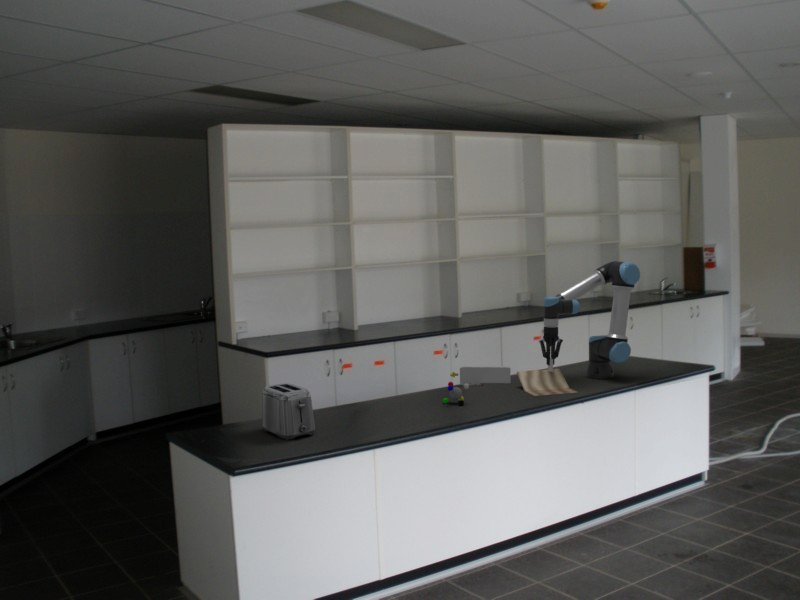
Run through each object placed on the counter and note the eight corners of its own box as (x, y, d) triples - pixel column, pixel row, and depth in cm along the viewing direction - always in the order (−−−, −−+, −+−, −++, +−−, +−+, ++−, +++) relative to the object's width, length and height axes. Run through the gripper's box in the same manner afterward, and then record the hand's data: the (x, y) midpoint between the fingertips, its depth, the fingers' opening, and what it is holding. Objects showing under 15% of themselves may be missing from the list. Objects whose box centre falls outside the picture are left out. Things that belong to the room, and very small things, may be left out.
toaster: (285, 443, 308) (283, 396, 306) (253, 428, 331) (252, 384, 330) (321, 435, 317) (320, 390, 315) (288, 421, 341) (287, 379, 339)
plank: (558, 370, 404) (559, 368, 403) (568, 389, 394) (569, 388, 393) (516, 373, 398) (517, 371, 397) (525, 393, 388) (526, 391, 387)
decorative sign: (510, 384, 411) (510, 366, 410) (510, 385, 407) (510, 367, 406) (450, 383, 415) (450, 365, 414) (450, 385, 411) (449, 367, 410)
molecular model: (472, 402, 372) (472, 382, 371) (459, 407, 361) (459, 387, 360) (452, 399, 378) (452, 380, 377) (439, 404, 368) (438, 384, 367)
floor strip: (569, 390, 393) (569, 388, 392) (578, 394, 383) (578, 392, 383) (526, 393, 387) (526, 391, 387) (534, 398, 377) (534, 395, 377)
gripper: (559, 325, 402) (558, 369, 404) (536, 325, 399) (535, 370, 401) (565, 326, 395) (565, 371, 397) (542, 327, 392) (541, 373, 394)
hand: (550, 371), depth 399 cm, fingers closed
